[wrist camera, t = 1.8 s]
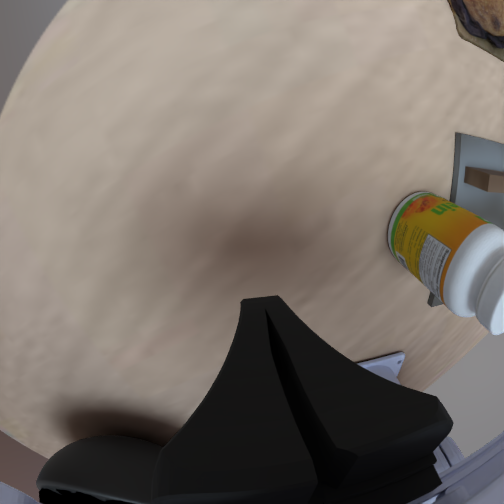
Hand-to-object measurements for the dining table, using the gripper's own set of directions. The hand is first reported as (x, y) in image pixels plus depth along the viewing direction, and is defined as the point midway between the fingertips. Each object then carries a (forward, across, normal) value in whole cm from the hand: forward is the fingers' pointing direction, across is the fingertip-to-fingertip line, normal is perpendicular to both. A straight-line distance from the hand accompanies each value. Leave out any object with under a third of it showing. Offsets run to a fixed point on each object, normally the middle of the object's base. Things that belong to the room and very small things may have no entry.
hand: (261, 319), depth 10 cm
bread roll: (+8, -20, -20) cm, 29 cm away
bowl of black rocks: (+8, +14, +24) cm, 29 cm away
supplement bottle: (+8, -12, 0) cm, 14 cm away
